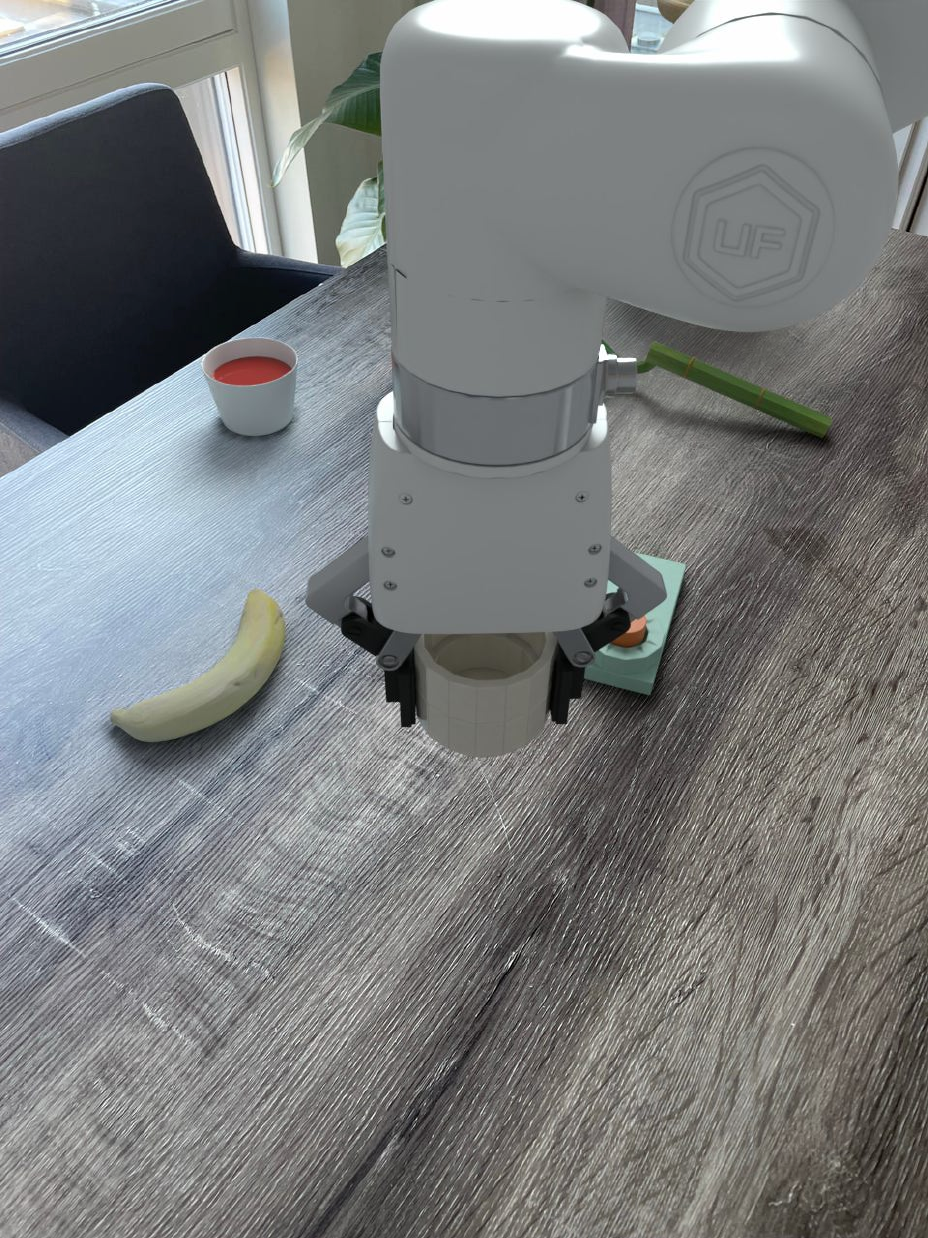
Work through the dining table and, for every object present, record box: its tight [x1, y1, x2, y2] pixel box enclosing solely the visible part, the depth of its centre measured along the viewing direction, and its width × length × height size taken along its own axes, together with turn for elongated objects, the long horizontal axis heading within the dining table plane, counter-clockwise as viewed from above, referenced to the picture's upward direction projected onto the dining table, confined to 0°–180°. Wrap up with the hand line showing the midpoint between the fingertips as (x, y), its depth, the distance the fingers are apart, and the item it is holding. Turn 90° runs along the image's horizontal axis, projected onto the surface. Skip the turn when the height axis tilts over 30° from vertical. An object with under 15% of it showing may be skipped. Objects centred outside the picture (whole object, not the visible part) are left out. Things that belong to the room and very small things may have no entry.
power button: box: [611, 615, 647, 648], centre depth 74 cm, size 3×3×2 cm
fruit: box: [109, 588, 286, 743], centre depth 72 cm, size 7×15×3 cm, turn 145°
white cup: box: [414, 632, 557, 758], centre depth 48 cm, size 7×7×6 cm
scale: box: [584, 552, 687, 696], centre depth 79 cm, size 16×14×3 cm
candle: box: [200, 336, 299, 437], centre depth 97 cm, size 9×9×6 cm
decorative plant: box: [601, 338, 834, 439], centre depth 101 cm, size 6×8×30 cm
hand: (482, 702), depth 49 cm, fingers closed on white cup, 6 cm apart
